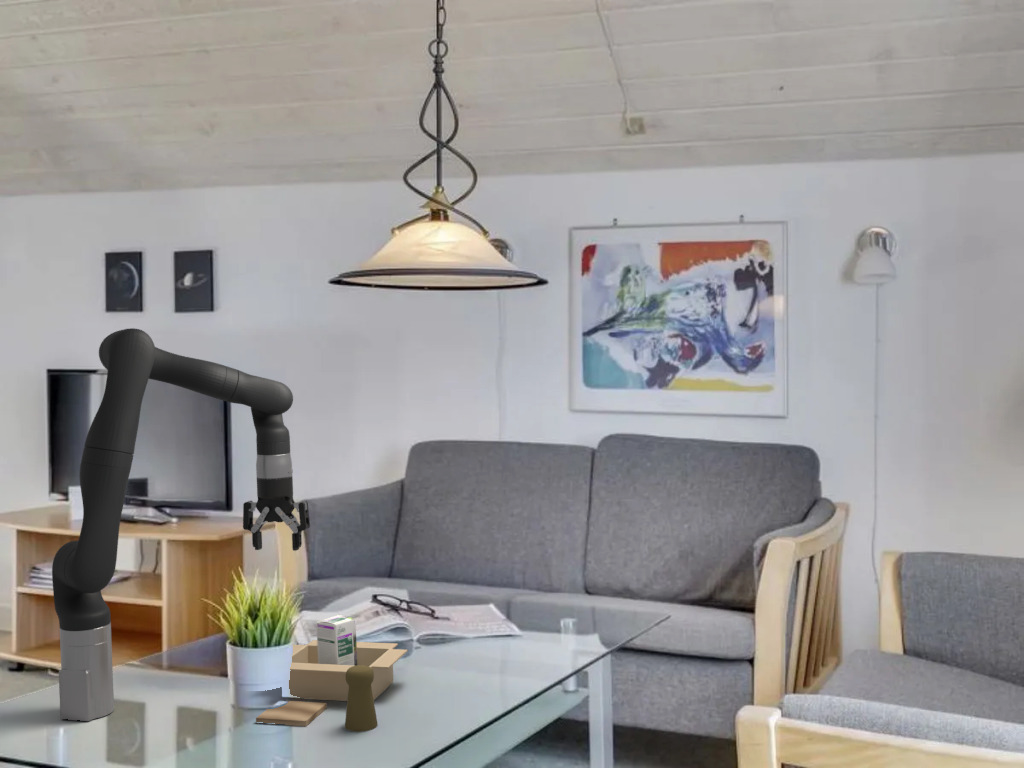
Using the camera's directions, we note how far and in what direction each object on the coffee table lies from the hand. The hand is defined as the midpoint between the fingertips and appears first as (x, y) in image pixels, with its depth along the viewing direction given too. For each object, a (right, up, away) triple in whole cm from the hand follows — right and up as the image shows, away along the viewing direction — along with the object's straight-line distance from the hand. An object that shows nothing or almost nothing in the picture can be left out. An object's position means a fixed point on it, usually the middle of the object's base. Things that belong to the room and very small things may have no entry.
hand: (277, 549), depth 235 cm
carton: (+15, -27, -12) cm, 33 cm away
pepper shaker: (+23, -28, -33) cm, 49 cm away
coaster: (+9, -27, -27) cm, 40 cm away
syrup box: (+15, -27, -12) cm, 33 cm away
